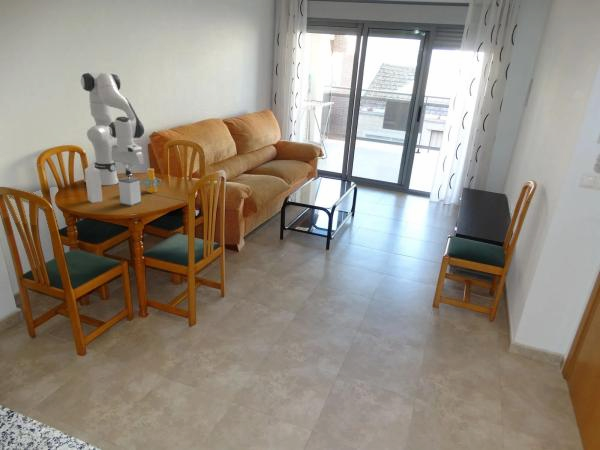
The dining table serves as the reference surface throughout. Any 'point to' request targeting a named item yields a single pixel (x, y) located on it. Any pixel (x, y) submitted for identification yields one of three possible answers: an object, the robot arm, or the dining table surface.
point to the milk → (93, 184)
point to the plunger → (128, 174)
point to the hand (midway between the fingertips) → (128, 170)
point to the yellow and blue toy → (151, 181)
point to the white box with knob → (130, 191)
